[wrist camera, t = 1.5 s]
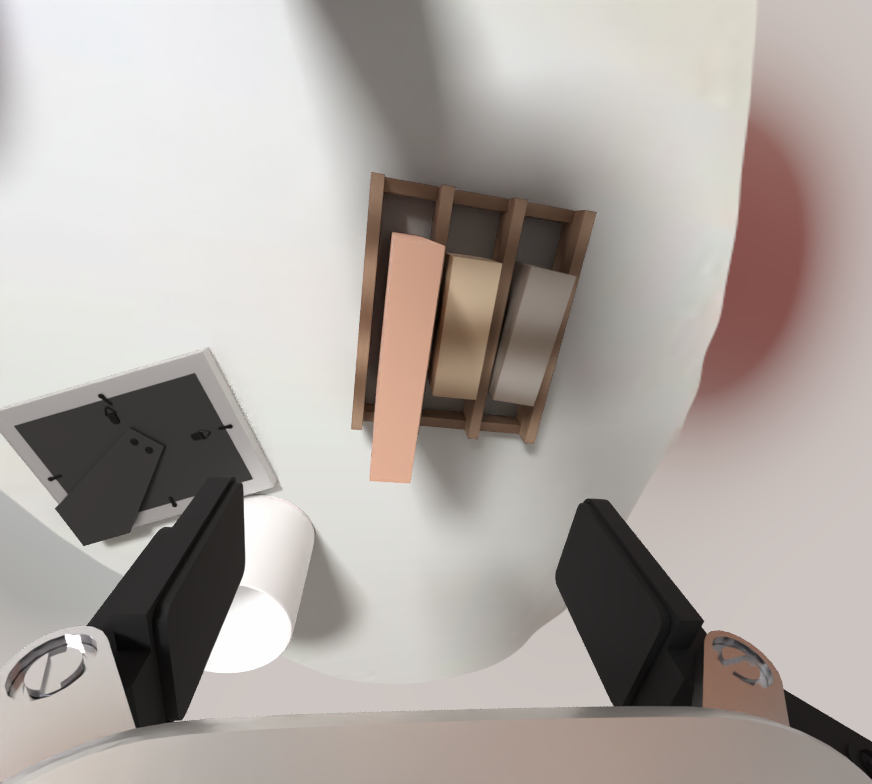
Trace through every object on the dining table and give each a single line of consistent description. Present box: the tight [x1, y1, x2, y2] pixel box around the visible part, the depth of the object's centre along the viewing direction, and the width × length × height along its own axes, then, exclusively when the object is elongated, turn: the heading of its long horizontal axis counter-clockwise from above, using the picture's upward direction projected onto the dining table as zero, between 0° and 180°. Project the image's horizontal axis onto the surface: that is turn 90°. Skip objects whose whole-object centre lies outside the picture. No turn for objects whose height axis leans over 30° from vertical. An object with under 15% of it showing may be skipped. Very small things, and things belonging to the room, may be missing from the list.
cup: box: [204, 495, 315, 673], centre depth 42 cm, size 12×12×12 cm
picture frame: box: [0, 347, 277, 546], centre depth 41 cm, size 16×3×21 cm
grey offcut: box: [488, 261, 576, 406], centre depth 38 cm, size 12×4×6 cm, turn 168°
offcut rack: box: [351, 172, 597, 444], centre depth 38 cm, size 22×18×4 cm
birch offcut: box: [427, 252, 502, 400], centre depth 37 cm, size 12×4×6 cm, turn 172°
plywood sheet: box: [370, 232, 445, 483], centre depth 31 cm, size 14×2×18 cm, turn 171°
